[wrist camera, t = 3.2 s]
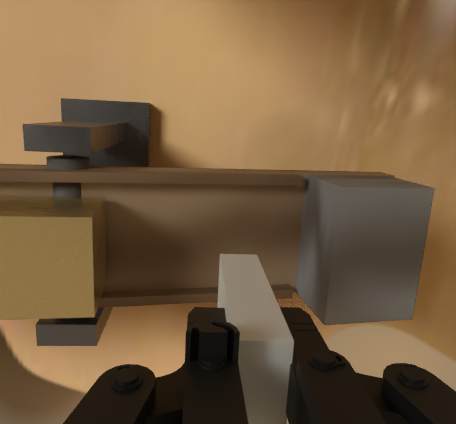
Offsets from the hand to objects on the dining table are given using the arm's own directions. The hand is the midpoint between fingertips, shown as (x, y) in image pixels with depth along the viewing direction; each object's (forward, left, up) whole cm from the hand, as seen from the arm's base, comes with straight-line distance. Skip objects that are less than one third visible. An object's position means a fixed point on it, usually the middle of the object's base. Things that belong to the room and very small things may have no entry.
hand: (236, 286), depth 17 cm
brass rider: (0, -9, -5) cm, 10 cm away
